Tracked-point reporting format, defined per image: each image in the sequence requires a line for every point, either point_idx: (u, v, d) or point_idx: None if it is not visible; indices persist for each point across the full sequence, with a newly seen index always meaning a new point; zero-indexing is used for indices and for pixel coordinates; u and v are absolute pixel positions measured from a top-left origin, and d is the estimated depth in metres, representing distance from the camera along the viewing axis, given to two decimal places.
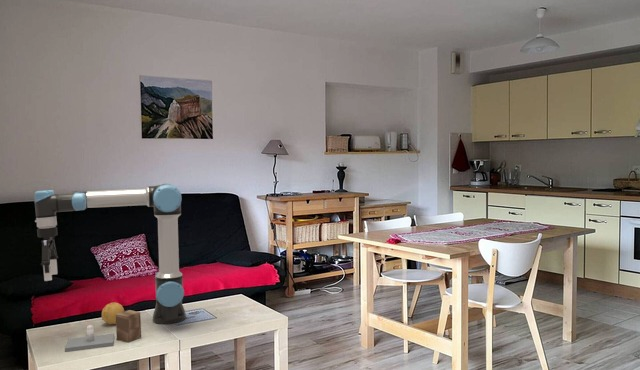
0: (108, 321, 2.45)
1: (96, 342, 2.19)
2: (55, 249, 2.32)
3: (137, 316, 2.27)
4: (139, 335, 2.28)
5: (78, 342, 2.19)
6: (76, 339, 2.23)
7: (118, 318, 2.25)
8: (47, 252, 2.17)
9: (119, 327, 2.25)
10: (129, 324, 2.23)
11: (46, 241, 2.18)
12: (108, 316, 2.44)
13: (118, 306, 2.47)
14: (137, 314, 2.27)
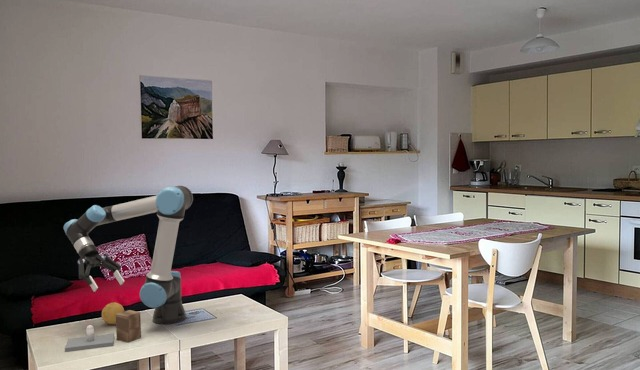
0: (108, 321, 2.45)
1: (96, 342, 2.19)
2: (113, 262, 2.42)
3: (137, 316, 2.27)
4: (139, 335, 2.28)
5: (78, 342, 2.19)
6: (76, 339, 2.23)
7: (118, 318, 2.25)
8: (80, 267, 2.28)
9: (119, 327, 2.25)
10: (129, 324, 2.23)
11: (79, 260, 2.31)
12: (108, 316, 2.44)
13: (118, 306, 2.47)
14: (137, 314, 2.27)
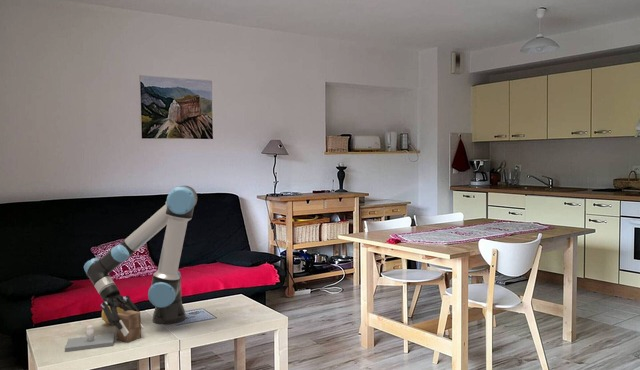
0: (108, 321, 2.45)
1: (96, 342, 2.19)
2: (133, 306, 2.34)
3: (137, 316, 2.27)
4: (139, 335, 2.28)
5: (78, 342, 2.19)
6: (76, 339, 2.23)
7: None
8: (107, 312, 2.23)
9: None
10: (129, 324, 2.23)
11: (102, 304, 2.25)
12: None
13: None
14: (137, 314, 2.27)
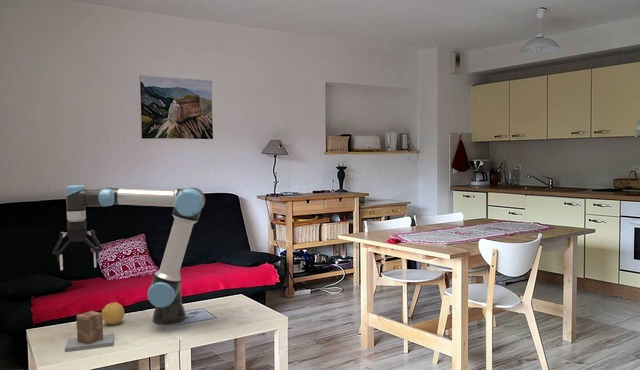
0: (108, 321, 2.45)
1: (96, 342, 2.19)
2: (96, 243, 2.37)
3: (99, 317, 2.21)
4: (101, 337, 2.22)
5: (78, 342, 2.19)
6: (76, 339, 2.23)
7: (78, 319, 2.19)
8: None
9: (80, 329, 2.19)
10: (89, 326, 2.17)
11: (60, 233, 2.32)
12: (108, 316, 2.44)
13: (118, 306, 2.47)
14: (99, 315, 2.21)
